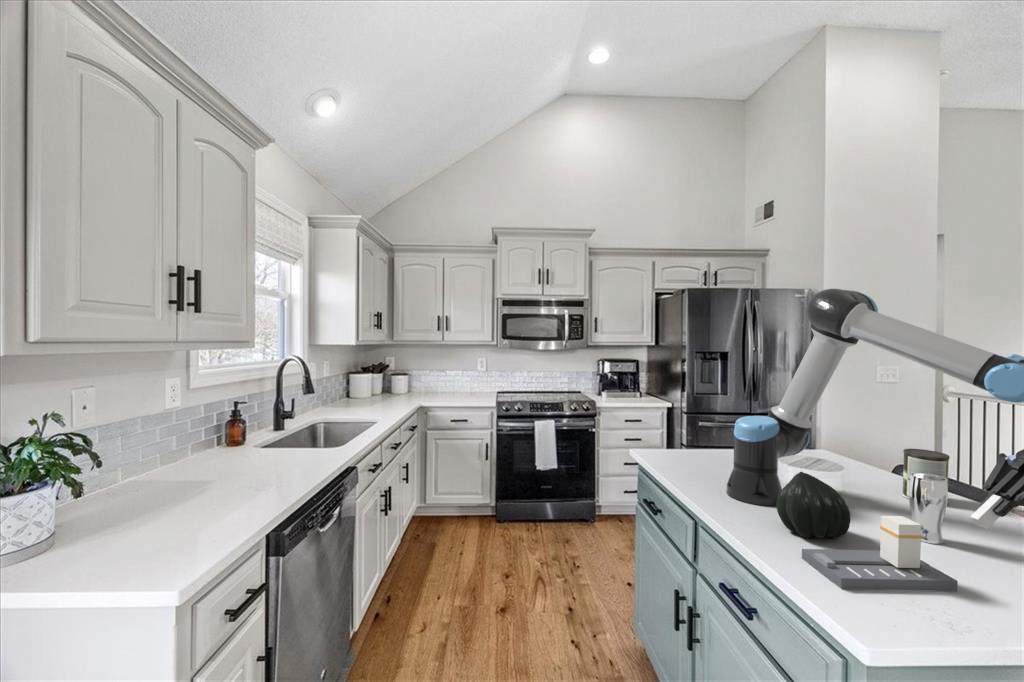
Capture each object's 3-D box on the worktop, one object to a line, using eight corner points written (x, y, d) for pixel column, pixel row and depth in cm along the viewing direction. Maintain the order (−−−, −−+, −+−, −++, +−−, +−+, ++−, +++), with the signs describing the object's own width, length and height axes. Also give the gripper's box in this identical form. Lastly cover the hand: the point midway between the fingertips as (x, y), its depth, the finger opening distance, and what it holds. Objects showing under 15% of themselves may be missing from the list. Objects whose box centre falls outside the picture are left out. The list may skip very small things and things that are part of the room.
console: (903, 560, 100) (904, 546, 99) (957, 591, 88) (957, 575, 87) (801, 558, 100) (802, 544, 100) (841, 588, 88) (841, 572, 88)
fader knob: (901, 557, 96) (902, 516, 96) (920, 568, 91) (922, 525, 91) (879, 556, 96) (880, 515, 96) (897, 567, 91) (898, 524, 91)
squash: (865, 531, 101) (845, 467, 111) (788, 525, 105) (775, 464, 115) (845, 552, 111) (828, 492, 121) (776, 546, 115) (765, 488, 125)
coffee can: (893, 492, 144) (895, 447, 144) (929, 494, 143) (930, 449, 143) (919, 504, 134) (920, 456, 134) (957, 506, 133) (959, 458, 133)
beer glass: (936, 535, 113) (938, 474, 113) (952, 547, 106) (955, 482, 106) (901, 530, 115) (903, 470, 115) (915, 542, 109) (917, 479, 108)
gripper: (1119, 463, 86) (1027, 551, 86) (1038, 446, 99) (959, 523, 99) (1091, 434, 86) (1000, 522, 86) (1014, 421, 99) (935, 498, 99)
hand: (978, 522), depth 92 cm, fingers closed
